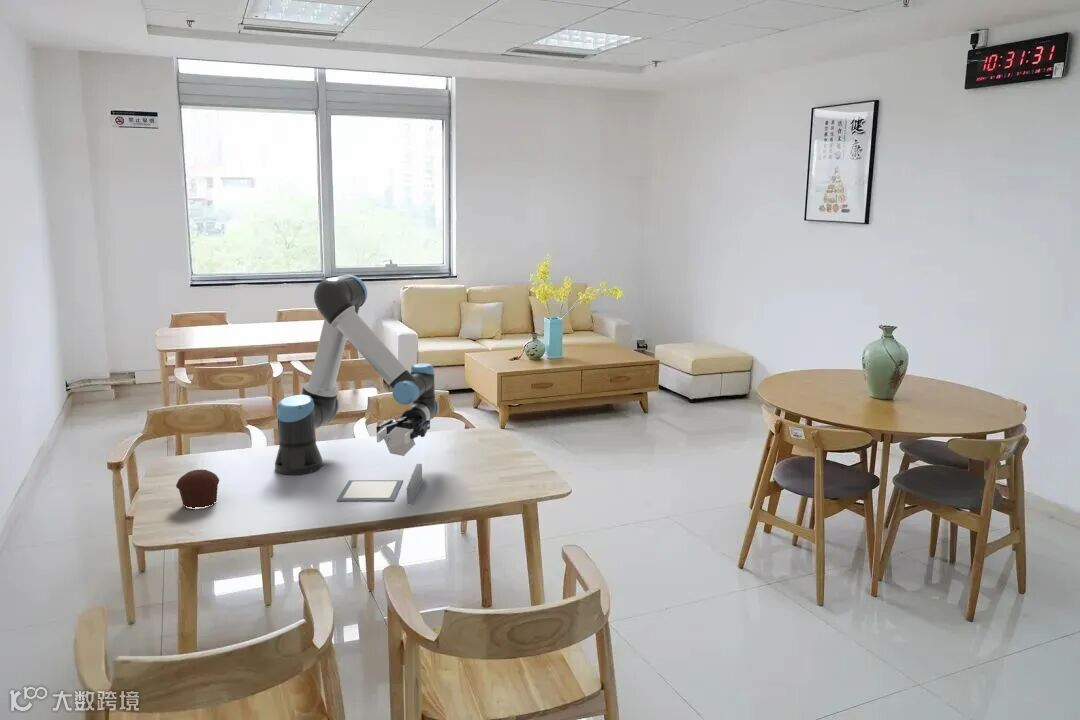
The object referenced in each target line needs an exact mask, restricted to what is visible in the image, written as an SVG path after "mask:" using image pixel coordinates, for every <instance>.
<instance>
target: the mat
mask: <svg viewBox="0 0 1080 720" xmlns="http://www.w3.org/2000/svg"><path fill="white" fill-rule="evenodd" d="M403 482H404V480H402V479H397V480H396V479H390V480H389V479H386V480H385V479H378V480H377V479H376V480H375V479H371V480H370V479H366V480H365V479H364V480H363V479H362V480H359V479H358V480H355V479H353V480H352V479H349V480H348V481H347V483H346V485H345V486H344V487H343V489H342V491H341V492H340V494H339V496H337V498H336V500H335V501H336V502H338V503H339V502H341V503H342V502H343V503H346V502H354V503H355V502H356V503H357V502H361V503H362V502H371V503H372V502H374V503H375V502H395V500H396V498H397V496H398V494H399V491H400V489H401V487H402V484H403Z"/></svg>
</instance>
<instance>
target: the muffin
mask: <svg viewBox="0 0 1080 720" xmlns="http://www.w3.org/2000/svg"><path fill="white" fill-rule="evenodd" d="M219 482H220V478H219V477H218V476H217V474H216V473H214V472H212V471H210V470H207V469H195V470H190V471H188V472H187V473H185V474H183V475H182V476H180V478H179V479H178V480H177V483H176V485H175V488H177V489H178V490H179V495H180V498H181V501H182V505H183V504H184V505H185V506H187V507H192V508H195V507H205V506H209V505H212V504H214V502H216V501H217V498H218V486H219ZM216 503H217V502H216ZM214 505H215V504H214Z"/></svg>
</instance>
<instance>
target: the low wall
mask: <svg viewBox="0 0 1080 720" xmlns="http://www.w3.org/2000/svg"><path fill="white" fill-rule="evenodd" d="M422 481H423V464H422V463H416V465H415V467H414V470H413V471H412V475H411V477H410V479H409V481H408V484H407V487H406V505H408V506H409V505H410V506H411V505H413V504H414V501H415V500H416V496H417V493H418V491H419V488H420V486H421V483H422Z"/></svg>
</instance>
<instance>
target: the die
mask: <svg viewBox="0 0 1080 720" xmlns="http://www.w3.org/2000/svg"><path fill="white" fill-rule="evenodd" d="M408 431H409V429H406V428H400V427H395V428H394V429H393V430H392V431H391V432H390V433H389V434H387V436H386V437H385V438H384V439H383V440H384V442H385V444H386V447H387V449H388V452H389V454H392V455H396V456H401V457H404V456H405V455H406V454H408V452H409V451H410V450H411V449H413V447H414V446H415V445H416V443H415V438H414V439H411V441H410V442H408V443H407V444H404V435H405V434H406V433H407V432H408Z"/></svg>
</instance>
